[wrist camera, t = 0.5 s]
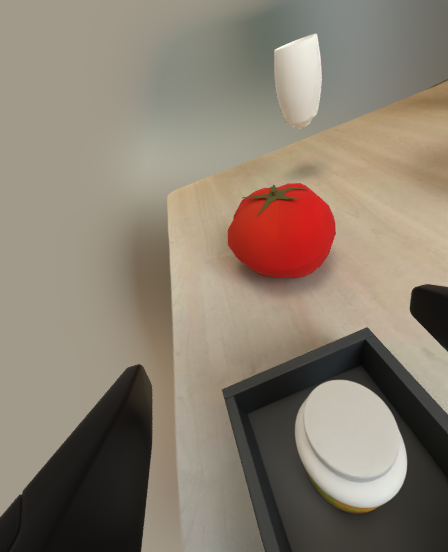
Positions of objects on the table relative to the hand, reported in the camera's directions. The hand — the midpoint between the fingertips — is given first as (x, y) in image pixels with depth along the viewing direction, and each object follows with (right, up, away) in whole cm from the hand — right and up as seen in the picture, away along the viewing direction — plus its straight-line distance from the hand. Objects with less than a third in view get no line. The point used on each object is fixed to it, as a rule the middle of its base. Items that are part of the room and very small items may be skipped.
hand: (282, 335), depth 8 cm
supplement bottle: (+7, -12, +10) cm, 17 cm away
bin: (+7, -12, +10) cm, 17 cm away
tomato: (+7, +4, +27) cm, 28 cm away
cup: (+15, +22, +42) cm, 50 cm away
